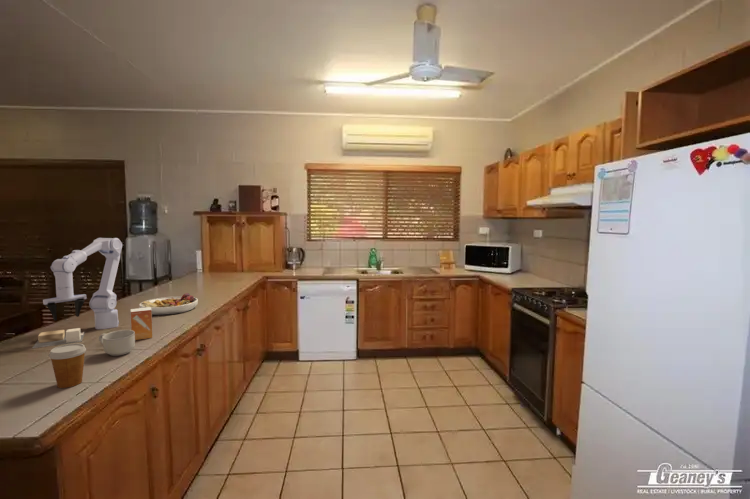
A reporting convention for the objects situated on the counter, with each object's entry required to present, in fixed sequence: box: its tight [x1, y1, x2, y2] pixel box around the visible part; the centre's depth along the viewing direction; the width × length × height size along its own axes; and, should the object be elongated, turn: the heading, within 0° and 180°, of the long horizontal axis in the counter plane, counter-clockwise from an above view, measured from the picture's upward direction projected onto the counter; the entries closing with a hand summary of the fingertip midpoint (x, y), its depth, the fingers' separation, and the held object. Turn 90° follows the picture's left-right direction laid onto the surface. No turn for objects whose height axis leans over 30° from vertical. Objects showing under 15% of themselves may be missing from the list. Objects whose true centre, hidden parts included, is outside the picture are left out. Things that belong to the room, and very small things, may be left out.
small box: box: [129, 307, 153, 341], centre depth 171 cm, size 8×6×13 cm
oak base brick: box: [37, 329, 66, 343], centre depth 165 cm, size 8×6×3 cm
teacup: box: [98, 329, 136, 357], centre depth 152 cm, size 14×11×8 cm
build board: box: [32, 331, 86, 349], centre depth 165 cm, size 16×16×1 cm
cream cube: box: [65, 327, 82, 343], centre depth 165 cm, size 4×4×4 cm
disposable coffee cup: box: [48, 343, 87, 389], centre depth 124 cm, size 10×10×12 cm
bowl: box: [138, 292, 199, 316], centre depth 223 cm, size 30×30×8 cm
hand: (66, 318), depth 164 cm, fingers open, 7 cm apart
